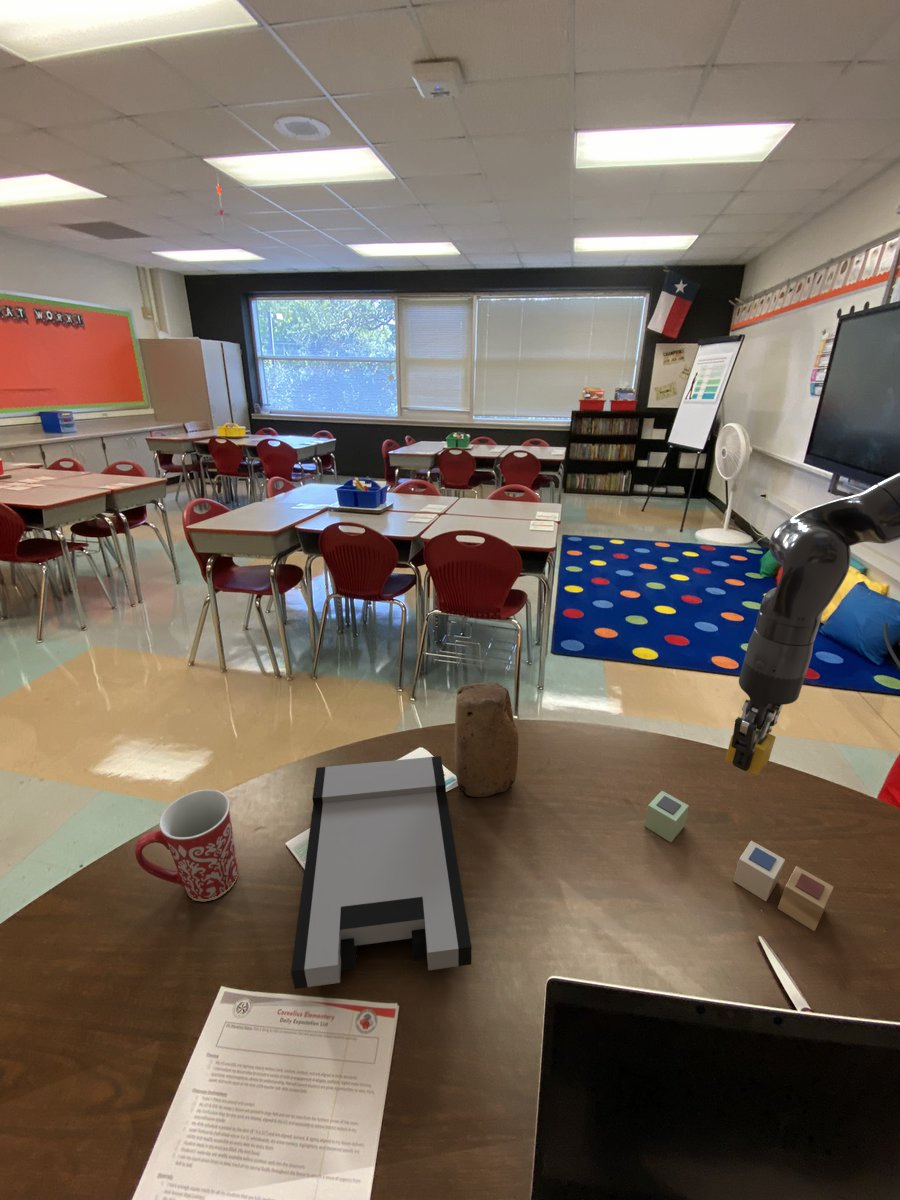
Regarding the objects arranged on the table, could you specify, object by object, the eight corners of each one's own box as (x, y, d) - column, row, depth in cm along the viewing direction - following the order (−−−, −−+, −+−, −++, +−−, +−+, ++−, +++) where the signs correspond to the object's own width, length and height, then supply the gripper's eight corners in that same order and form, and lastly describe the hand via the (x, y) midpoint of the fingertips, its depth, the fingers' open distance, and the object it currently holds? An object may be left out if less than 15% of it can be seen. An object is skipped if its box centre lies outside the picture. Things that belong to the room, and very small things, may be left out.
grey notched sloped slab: (298, 1007, 64) (289, 964, 61) (321, 804, 93) (316, 767, 90) (470, 983, 67) (471, 940, 63) (441, 792, 95) (440, 756, 92)
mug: (243, 846, 85) (228, 781, 80) (248, 894, 78) (231, 826, 72) (154, 874, 81) (131, 807, 75) (150, 928, 73) (124, 858, 68)
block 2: (657, 811, 91) (662, 789, 89) (684, 826, 88) (689, 804, 86) (644, 826, 88) (648, 804, 86) (670, 842, 85) (675, 820, 83)
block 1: (456, 800, 94) (456, 705, 85) (453, 770, 101) (453, 679, 92) (518, 797, 94) (524, 702, 86) (511, 767, 101) (516, 676, 93)
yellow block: (737, 746, 85) (744, 721, 83) (768, 760, 82) (776, 735, 80) (724, 759, 82) (731, 734, 80) (757, 775, 79) (764, 749, 77)
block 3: (744, 862, 82) (751, 839, 80) (777, 881, 79) (785, 858, 77) (732, 881, 79) (739, 858, 77) (766, 901, 76) (774, 878, 74)
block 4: (788, 888, 78) (796, 864, 76) (824, 909, 75) (834, 886, 73) (777, 908, 75) (785, 885, 73) (814, 931, 72) (824, 908, 70)
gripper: (787, 693, 68) (755, 796, 75) (822, 654, 77) (790, 749, 84) (726, 670, 73) (701, 769, 80) (765, 635, 82) (740, 727, 89)
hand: (747, 758), depth 82 cm, fingers closed on yellow block, 4 cm apart
